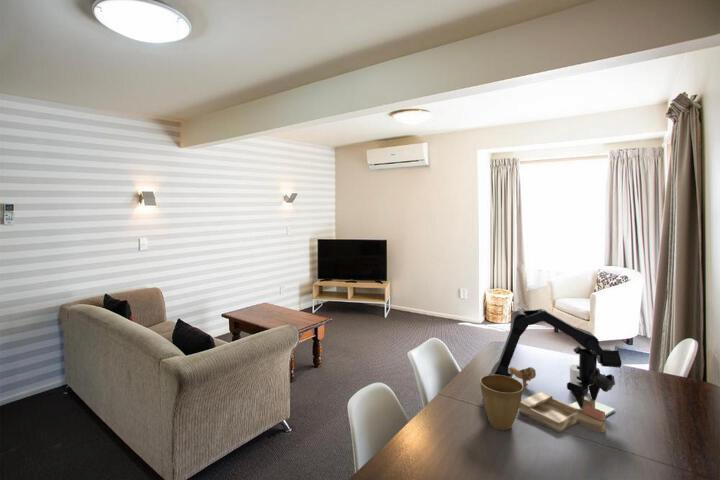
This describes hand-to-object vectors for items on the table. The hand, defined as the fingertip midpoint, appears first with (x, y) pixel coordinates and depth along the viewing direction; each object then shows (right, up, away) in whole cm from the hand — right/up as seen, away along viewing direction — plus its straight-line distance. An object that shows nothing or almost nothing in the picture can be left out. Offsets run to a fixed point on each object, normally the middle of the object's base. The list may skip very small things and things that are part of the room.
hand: (587, 403), depth 139 cm
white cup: (+8, -2, +17) cm, 19 cm away
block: (-4, +1, -11) cm, 12 cm away
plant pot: (-37, -5, -7) cm, 37 cm away
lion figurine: (-15, -3, +25) cm, 30 cm away
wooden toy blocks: (-14, -4, -6) cm, 15 cm away
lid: (+1, -3, +1) cm, 3 cm away
